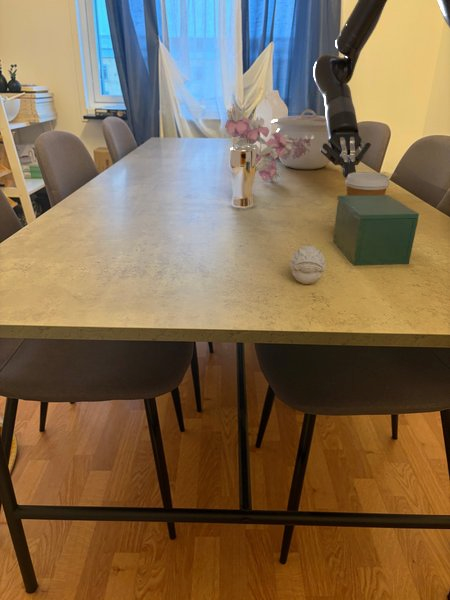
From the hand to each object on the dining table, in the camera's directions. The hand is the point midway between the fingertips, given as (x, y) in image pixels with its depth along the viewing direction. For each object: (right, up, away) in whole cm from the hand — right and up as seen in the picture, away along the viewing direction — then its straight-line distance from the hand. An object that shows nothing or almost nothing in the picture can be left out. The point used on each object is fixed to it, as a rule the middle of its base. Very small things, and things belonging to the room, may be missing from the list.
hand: (350, 177), depth 108 cm
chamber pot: (0, +22, +62) cm, 66 cm away
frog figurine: (-17, -28, -34) cm, 47 cm away
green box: (-2, -21, -21) cm, 29 cm away
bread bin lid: (-2, -13, -25) cm, 28 cm away
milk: (-10, +41, +100) cm, 109 cm away
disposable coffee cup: (0, -14, -7) cm, 16 cm away
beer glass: (-27, -5, +11) cm, 29 cm away
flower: (-20, +8, +36) cm, 42 cm away
